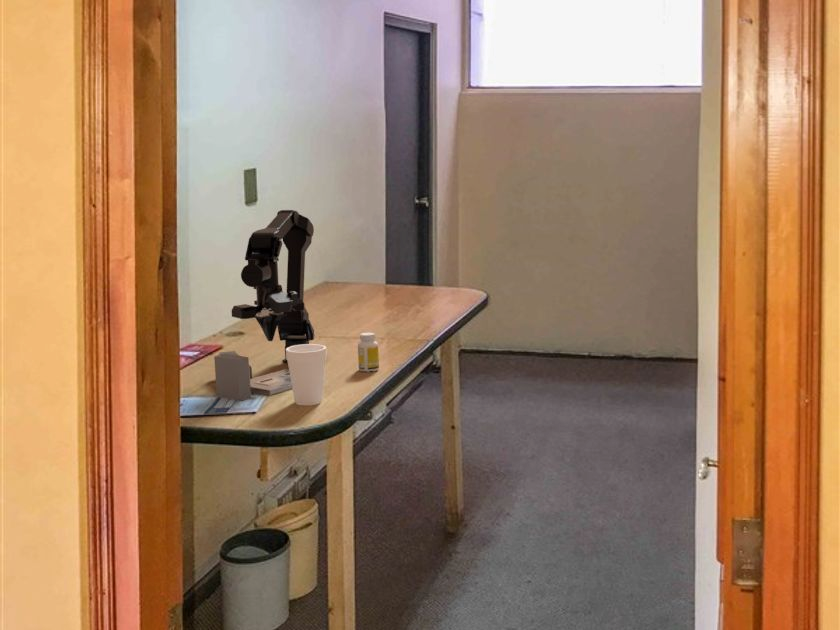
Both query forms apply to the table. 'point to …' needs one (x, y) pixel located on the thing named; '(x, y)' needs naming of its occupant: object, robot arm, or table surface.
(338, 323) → the table surface
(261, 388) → the panel
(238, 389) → the post
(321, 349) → the foam cup
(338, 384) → the table surface
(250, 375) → the bar
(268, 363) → the table surface
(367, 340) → the supplement bottle
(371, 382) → the table surface
